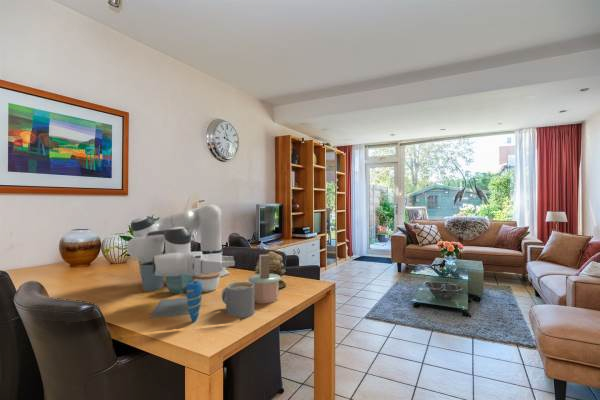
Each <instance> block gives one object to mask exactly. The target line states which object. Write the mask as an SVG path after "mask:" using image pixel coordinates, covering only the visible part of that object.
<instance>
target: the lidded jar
mask: <svg viewBox="0 0 600 400" xmlns="http://www.w3.org/2000/svg"><path fill="white" fill-rule="evenodd" d="M195 279H196V282H200V283H201V285H202V293H203V292H204V293H206V292H207V293H208V292H213V291H215V290H216V289H217V288H218V287H219V284H220V279H221V277H220V273H219V272H216V273H208V274H202V275H201V276H195V277H194V280H195Z"/></svg>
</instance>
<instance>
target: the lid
mask: <svg viewBox="0 0 600 400" xmlns="http://www.w3.org/2000/svg"><path fill="white" fill-rule="evenodd" d="M259 259H260V274H256V275H255V274H252V275H250V276H249V277H248V280H247V281H248V282H250V283H255V284H270V283H275V282H278V281H280V280H281V277H280V276H279V275H277V274H269V255H268V253H266V254H259Z"/></svg>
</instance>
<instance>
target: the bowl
mask: <svg viewBox="0 0 600 400" xmlns="http://www.w3.org/2000/svg"><path fill="white" fill-rule="evenodd" d="M253 284H254V304H258V305H259V304H260V305H265V304H267V305H268V304H272V303H276V302H277V301H278V300H279V297H280V295H279V291H280V290H279V281H278V282H275V283H270V284H255V283H253Z"/></svg>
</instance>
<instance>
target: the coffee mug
mask: <svg viewBox="0 0 600 400" xmlns="http://www.w3.org/2000/svg"><path fill="white" fill-rule="evenodd" d="M221 298H222V300H221V301H222V302H223V303H224V304H225V313H226V315H227V316H229V317H237V318H238V317H239V319H246V318H250V317H252V316H254V314H255V303H254V284H253V283H251V282H249V281H248V282H247V281H238V282H232V283H228V284H227V285H225V288H223V289H222V292H221Z"/></svg>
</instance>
